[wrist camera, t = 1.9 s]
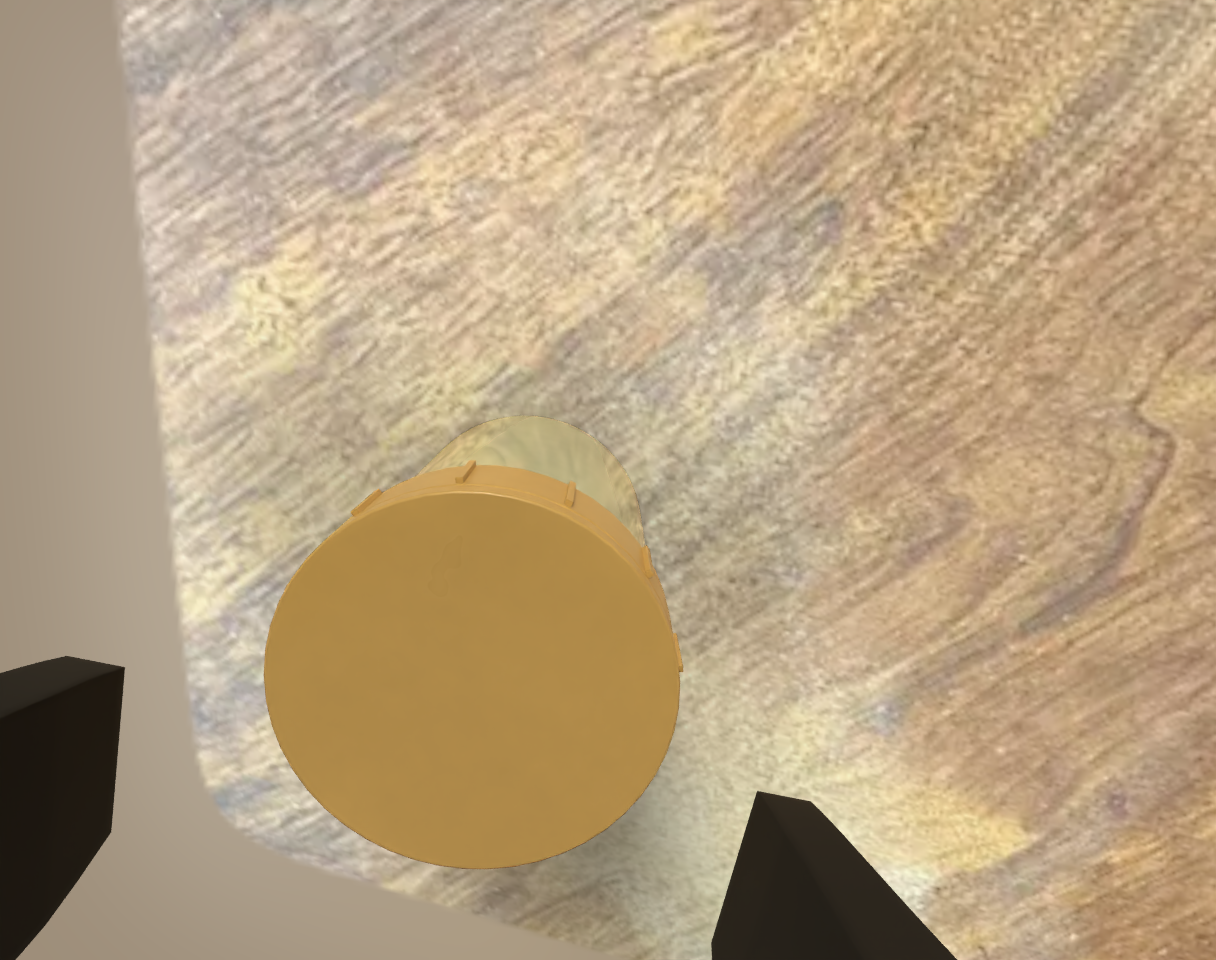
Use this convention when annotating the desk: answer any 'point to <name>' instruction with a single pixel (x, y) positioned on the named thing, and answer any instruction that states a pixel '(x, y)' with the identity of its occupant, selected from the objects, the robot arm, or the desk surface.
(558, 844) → the lid
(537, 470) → the jar
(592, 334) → the desk surface
